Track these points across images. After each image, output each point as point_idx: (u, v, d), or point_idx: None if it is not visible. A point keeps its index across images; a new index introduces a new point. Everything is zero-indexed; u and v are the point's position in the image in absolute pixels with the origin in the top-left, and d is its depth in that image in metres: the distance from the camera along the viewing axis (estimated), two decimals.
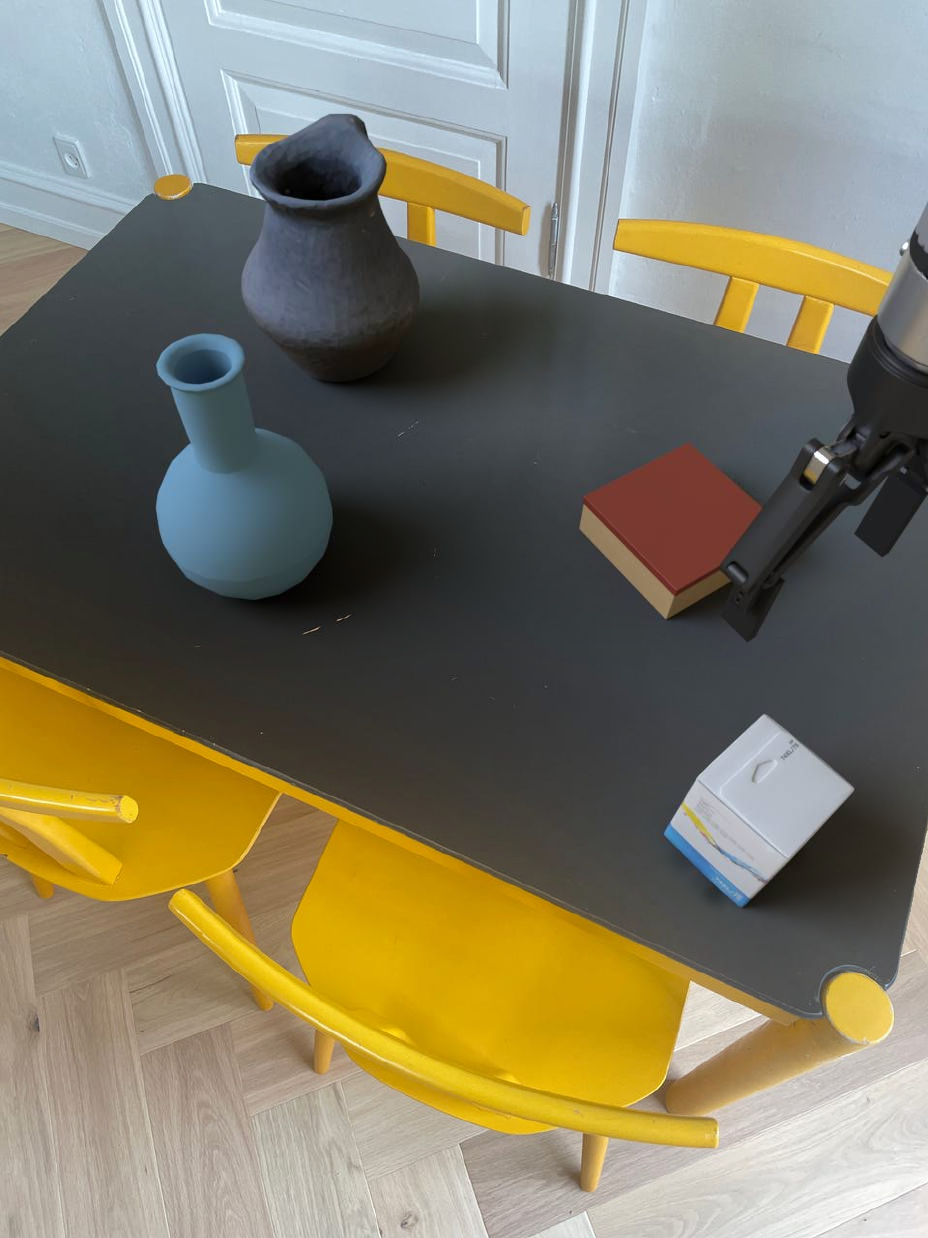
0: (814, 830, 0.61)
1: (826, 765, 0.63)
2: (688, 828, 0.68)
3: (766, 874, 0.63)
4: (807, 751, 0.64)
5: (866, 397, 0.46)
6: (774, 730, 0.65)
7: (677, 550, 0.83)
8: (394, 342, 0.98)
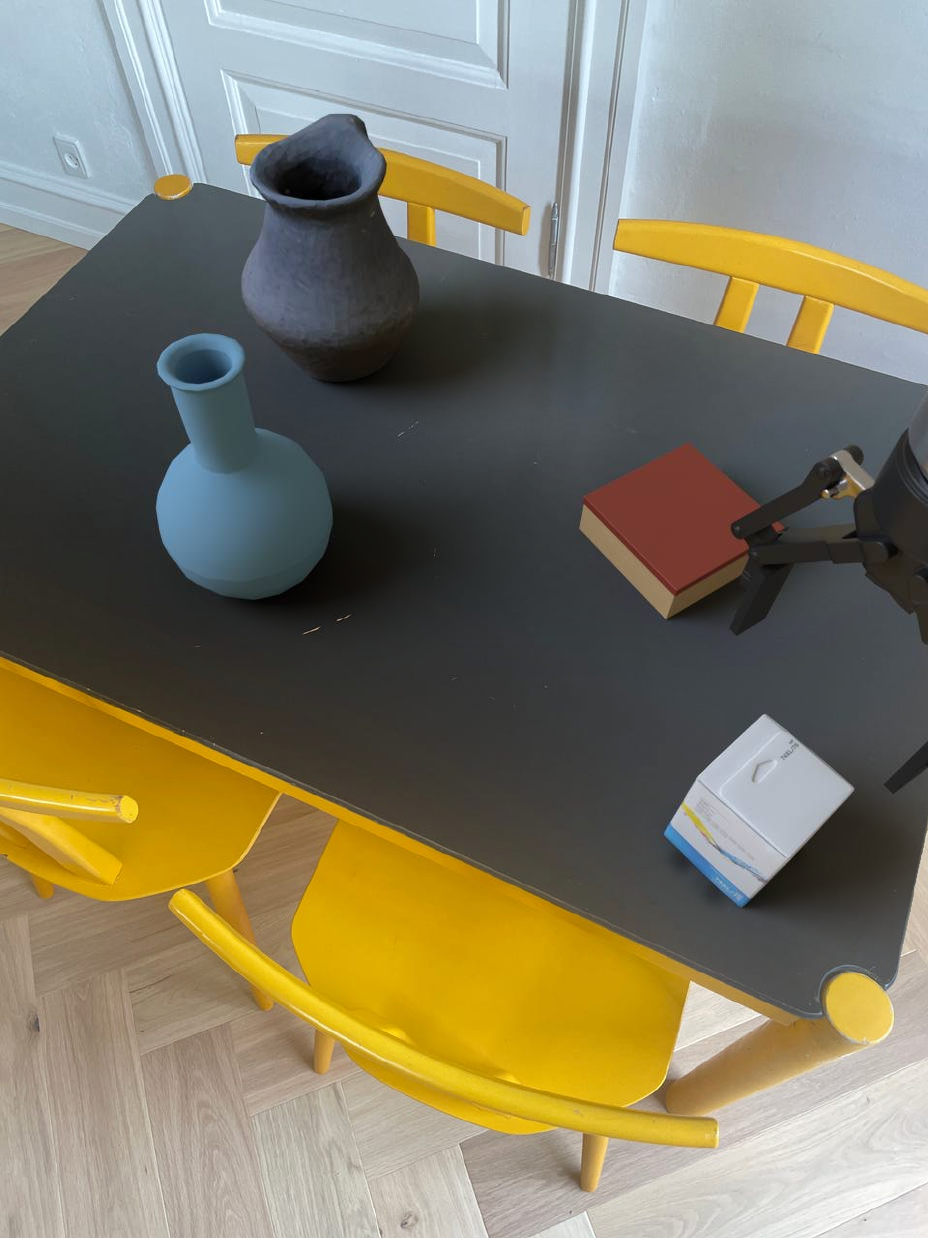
0: (814, 830, 0.61)
1: (826, 765, 0.63)
2: (688, 828, 0.68)
3: (766, 874, 0.63)
4: (807, 751, 0.64)
5: None
6: (774, 730, 0.65)
7: (677, 550, 0.83)
8: (394, 342, 0.98)
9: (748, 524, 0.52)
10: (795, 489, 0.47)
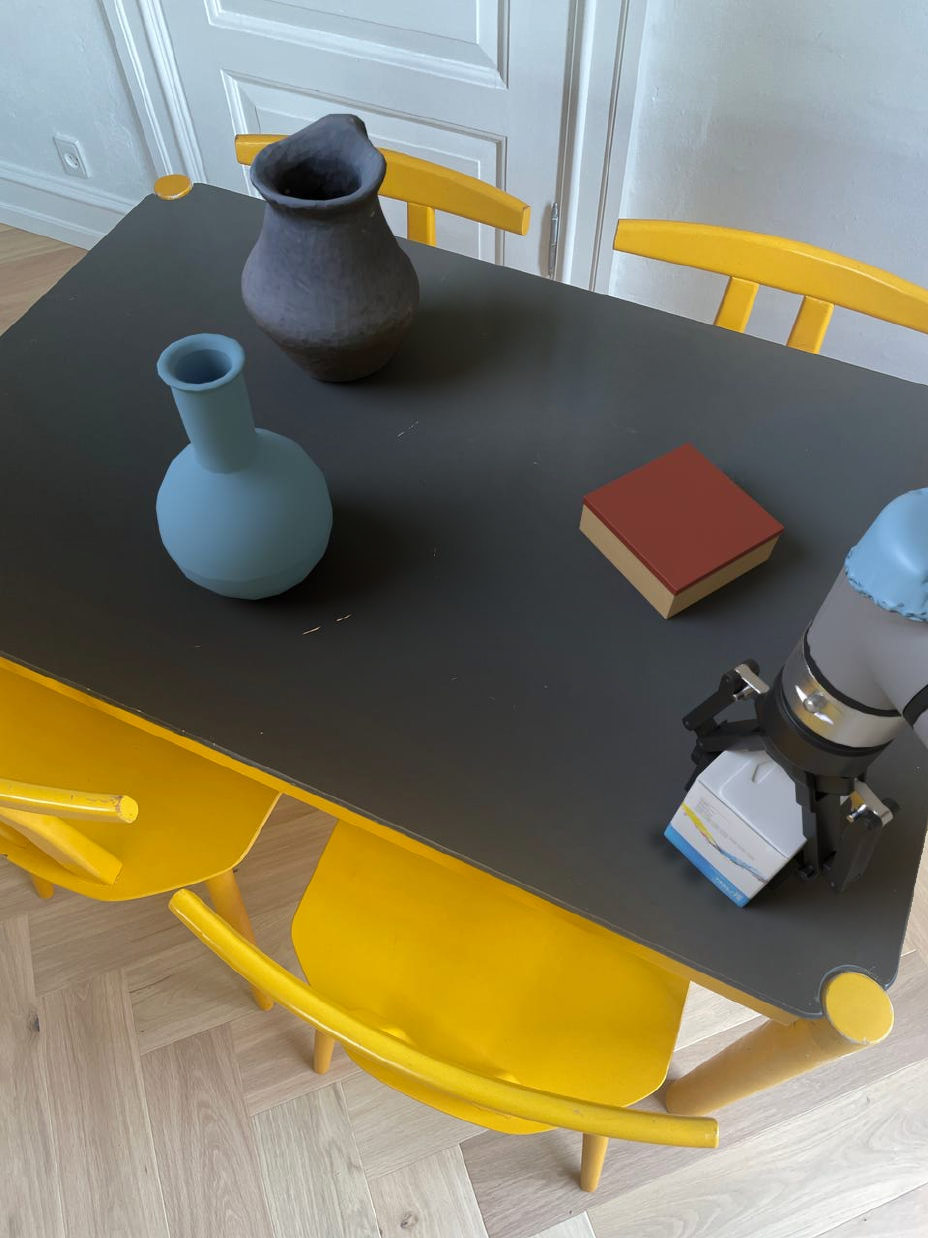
0: None
1: None
2: (688, 828, 0.68)
3: (766, 874, 0.63)
4: None
5: (862, 767, 0.52)
6: None
7: (677, 550, 0.83)
8: (394, 342, 0.98)
9: (692, 719, 0.66)
10: (715, 694, 0.62)
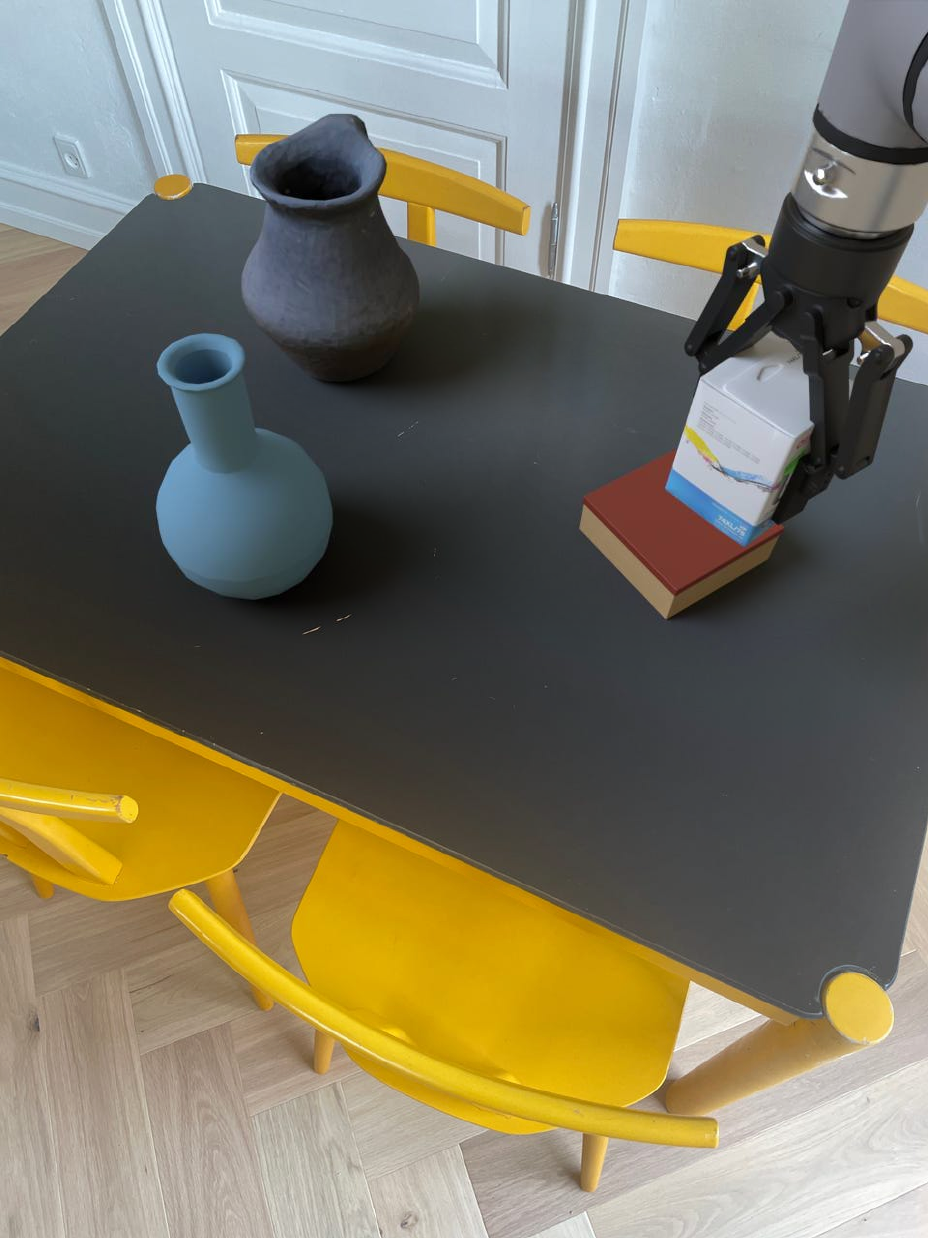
0: None
1: None
2: (691, 460, 0.66)
3: (772, 476, 0.60)
4: None
5: (874, 282, 0.50)
6: (780, 342, 0.63)
7: (677, 550, 0.83)
8: (394, 342, 0.98)
9: (695, 337, 0.64)
10: (719, 282, 0.59)
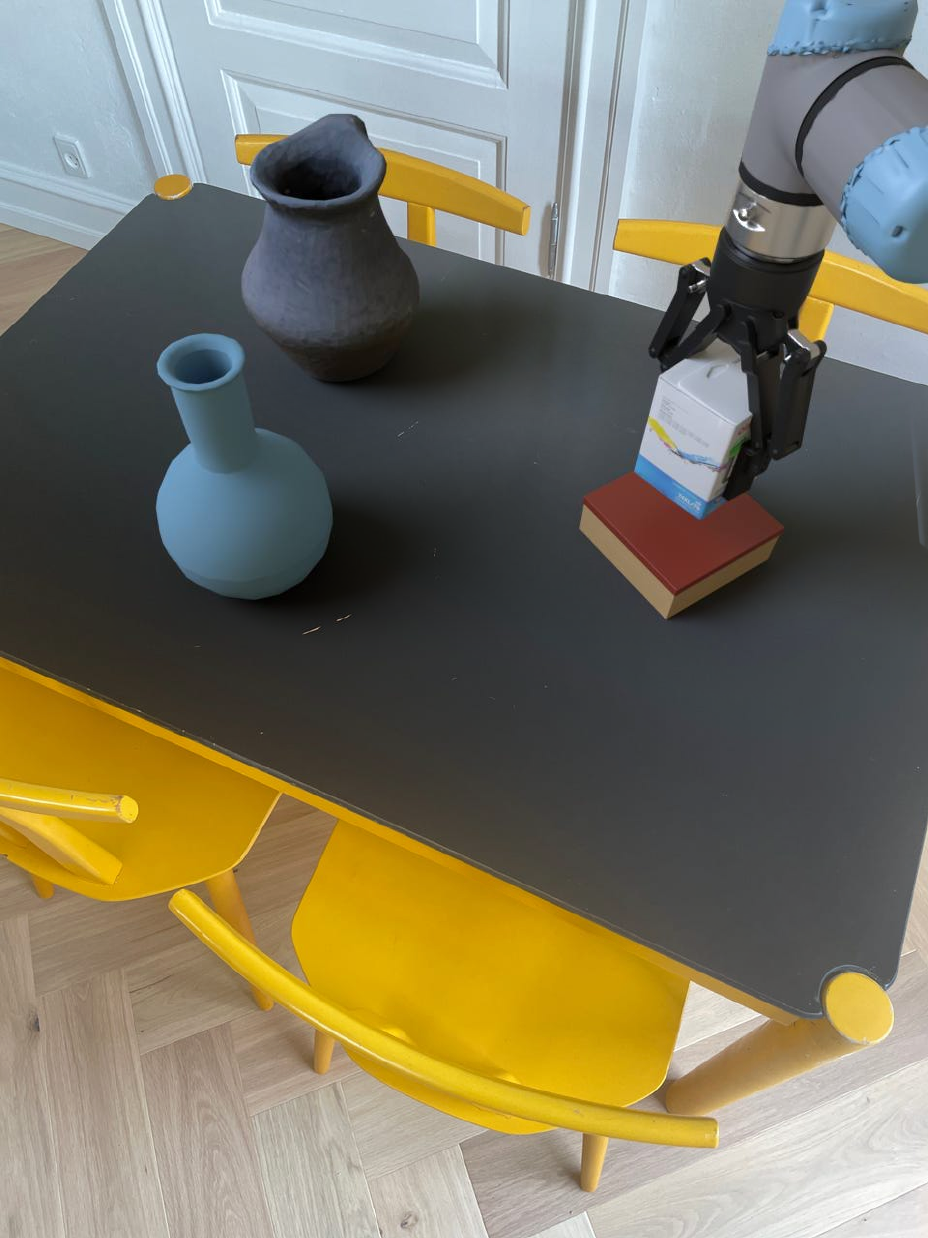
0: None
1: None
2: (654, 445, 0.77)
3: (719, 458, 0.72)
4: None
5: (792, 298, 0.62)
6: (727, 346, 0.75)
7: (677, 550, 0.83)
8: (394, 342, 0.98)
9: (657, 342, 0.76)
10: (674, 296, 0.71)
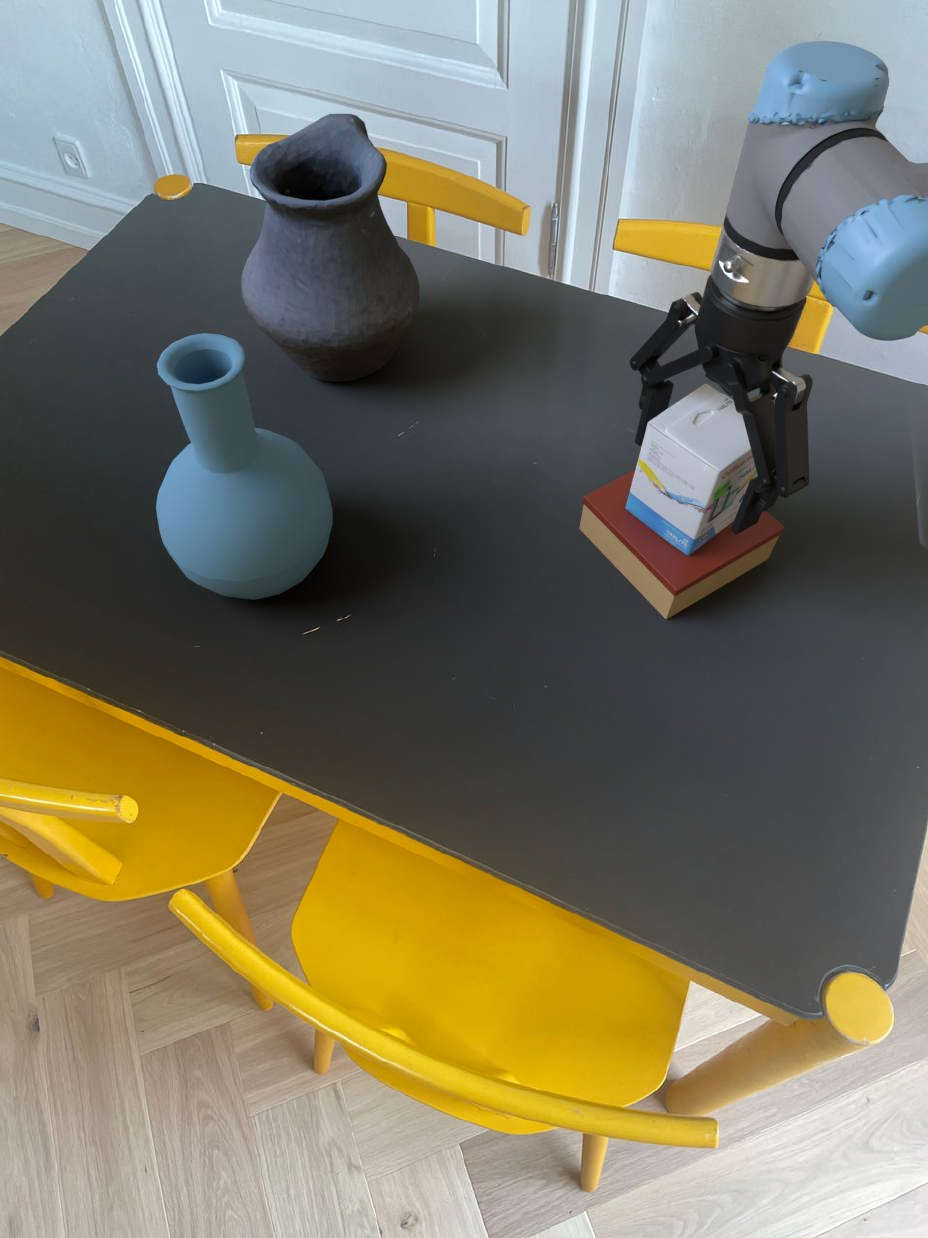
0: (742, 454, 0.74)
1: None
2: (644, 485, 0.81)
3: (704, 500, 0.76)
4: None
5: (776, 343, 0.65)
6: (713, 393, 0.79)
7: (677, 550, 0.83)
8: (394, 342, 0.98)
9: (639, 357, 0.79)
10: (662, 324, 0.74)
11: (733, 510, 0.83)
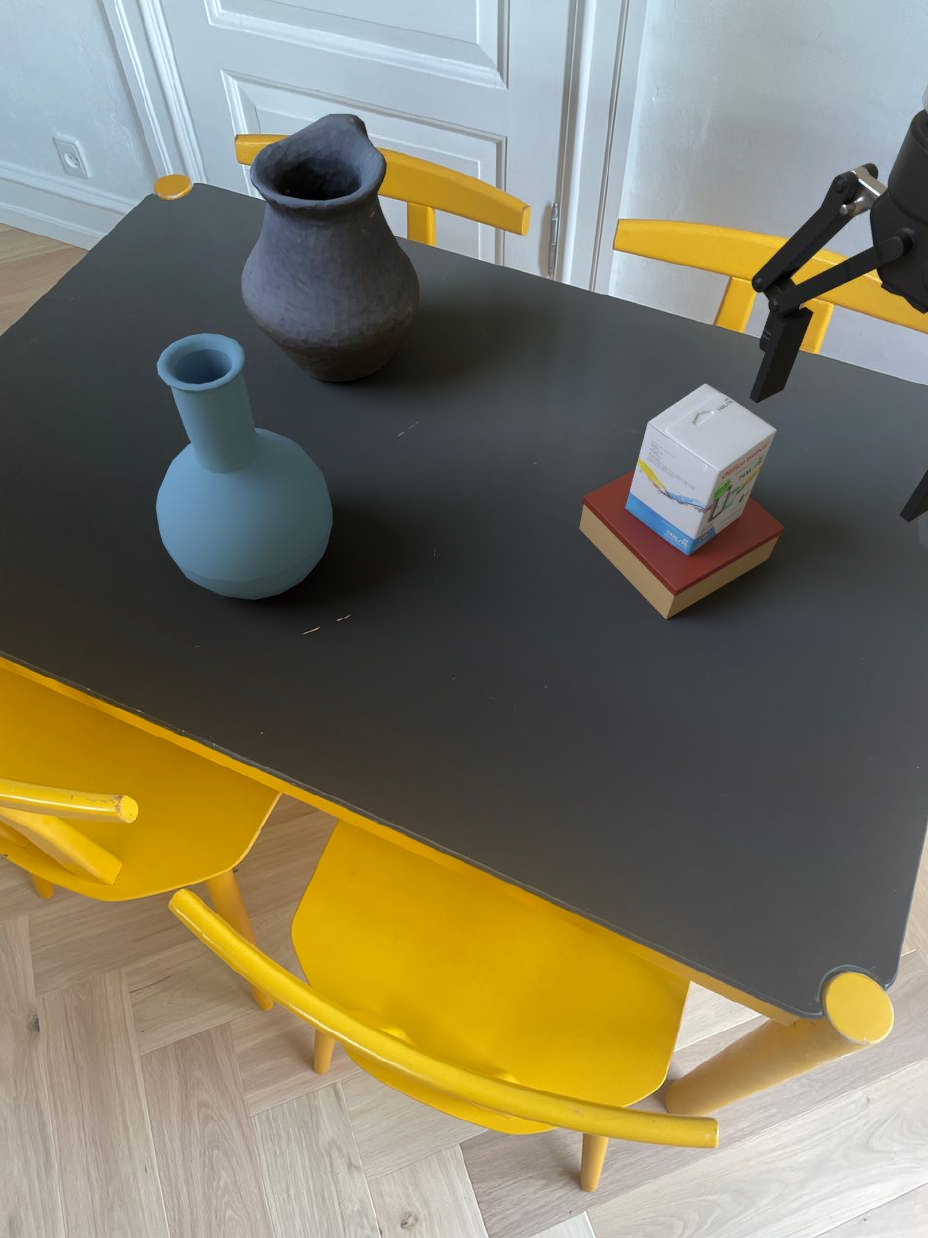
0: (742, 454, 0.74)
1: (754, 415, 0.77)
2: (644, 485, 0.81)
3: (704, 500, 0.76)
4: (739, 405, 0.78)
5: None
6: (713, 393, 0.79)
7: (677, 550, 0.83)
8: (394, 342, 0.98)
9: (768, 272, 0.56)
10: (814, 214, 0.51)
11: (733, 510, 0.83)
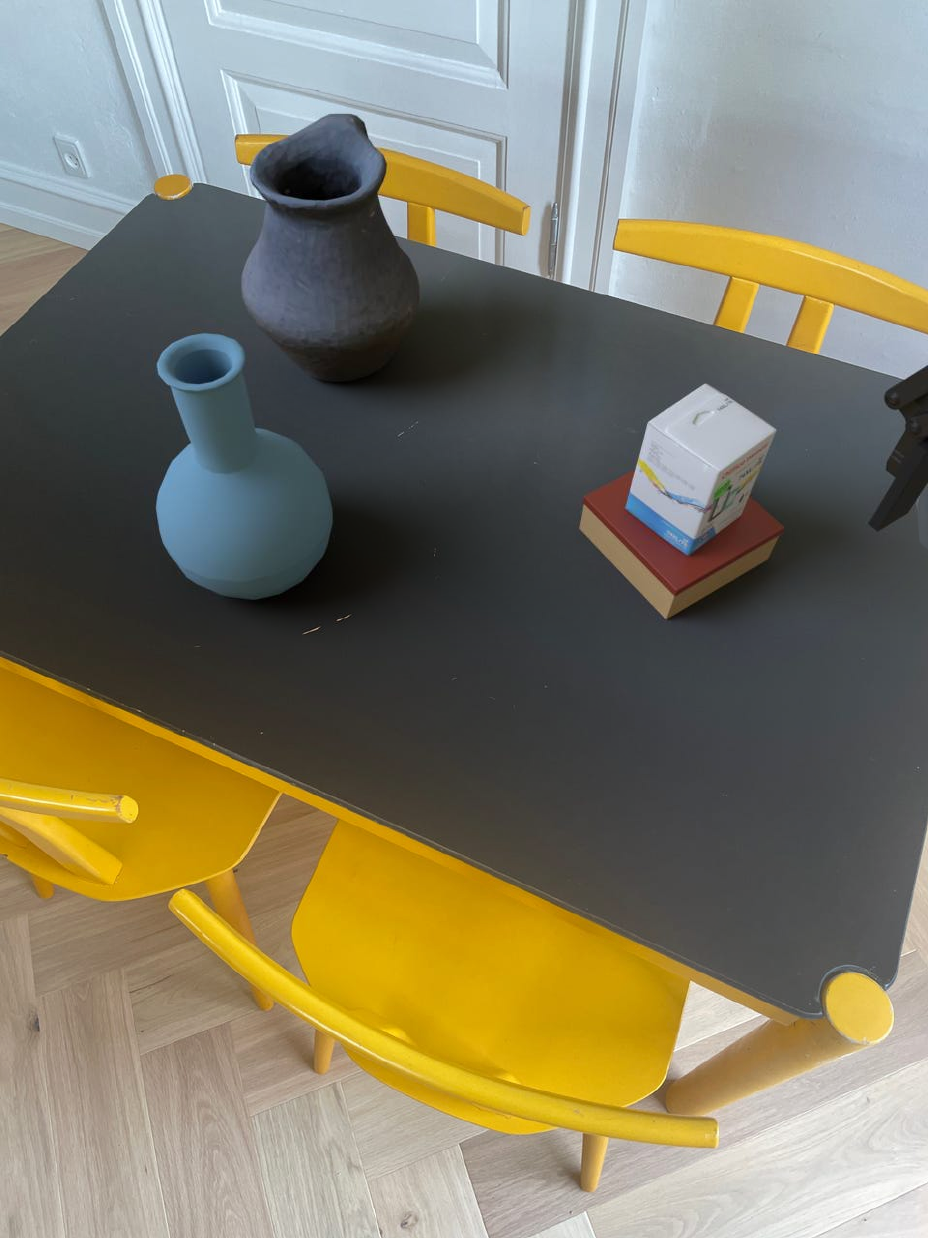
0: (742, 454, 0.74)
1: (754, 415, 0.77)
2: (644, 485, 0.81)
3: (704, 500, 0.76)
4: (739, 405, 0.78)
5: None
6: (713, 393, 0.79)
7: (677, 550, 0.83)
8: (394, 342, 0.98)
9: (910, 388, 0.45)
10: None
11: (733, 510, 0.83)
